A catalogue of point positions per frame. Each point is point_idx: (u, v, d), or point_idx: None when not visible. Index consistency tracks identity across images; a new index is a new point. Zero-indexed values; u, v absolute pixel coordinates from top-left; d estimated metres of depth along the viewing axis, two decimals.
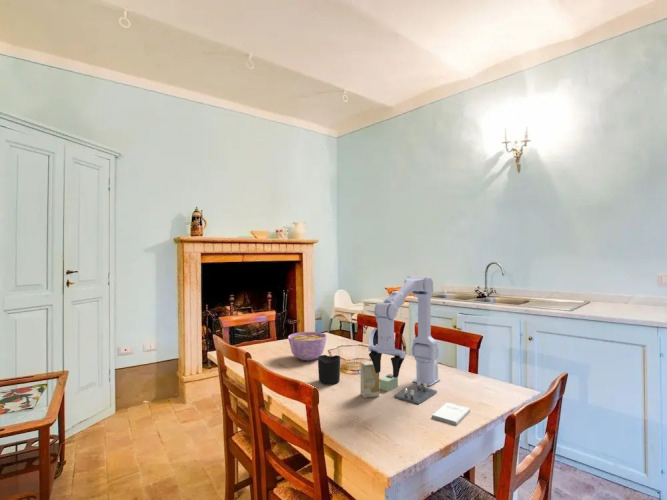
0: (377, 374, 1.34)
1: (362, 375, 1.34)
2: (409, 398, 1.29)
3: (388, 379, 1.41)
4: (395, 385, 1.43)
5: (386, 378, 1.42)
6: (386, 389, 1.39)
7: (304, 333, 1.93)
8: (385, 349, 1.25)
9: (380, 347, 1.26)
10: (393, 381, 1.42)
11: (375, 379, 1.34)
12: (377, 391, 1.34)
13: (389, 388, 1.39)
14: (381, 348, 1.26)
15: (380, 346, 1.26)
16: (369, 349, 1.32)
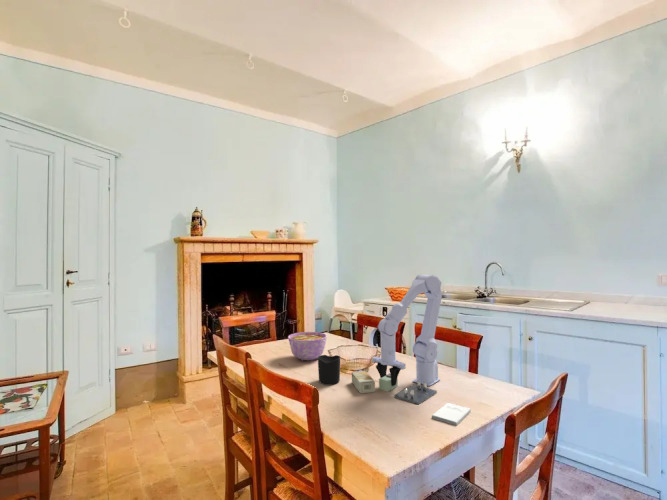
0: (366, 374, 1.46)
1: (354, 381, 1.44)
2: (409, 398, 1.29)
3: (388, 379, 1.41)
4: (395, 385, 1.42)
5: (386, 378, 1.42)
6: (386, 389, 1.39)
7: (304, 333, 1.93)
8: (387, 361, 1.40)
9: (383, 359, 1.41)
10: None
11: (366, 375, 1.44)
12: (371, 379, 1.40)
13: (389, 388, 1.39)
14: (384, 360, 1.41)
15: (383, 358, 1.41)
16: (373, 361, 1.46)
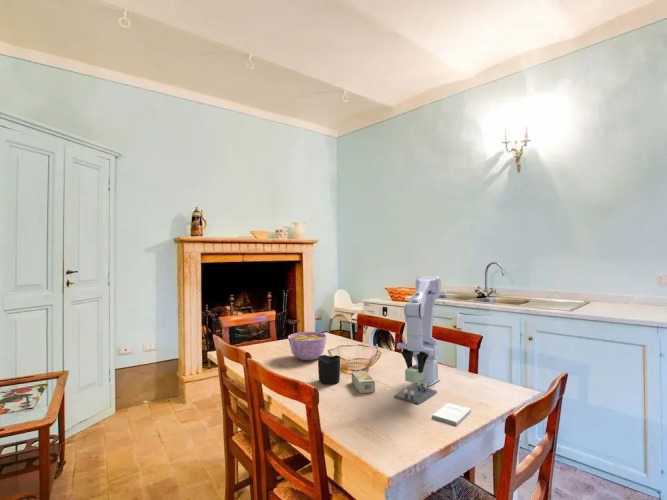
0: (366, 374, 1.46)
1: (354, 381, 1.44)
2: (409, 398, 1.29)
3: (414, 370, 1.32)
4: (422, 376, 1.34)
5: (412, 369, 1.33)
6: (413, 380, 1.31)
7: (304, 333, 1.93)
8: (414, 347, 1.32)
9: (409, 345, 1.33)
10: None
11: (366, 375, 1.44)
12: (371, 379, 1.40)
13: (416, 379, 1.31)
14: (410, 346, 1.33)
15: (409, 344, 1.33)
16: (398, 347, 1.38)
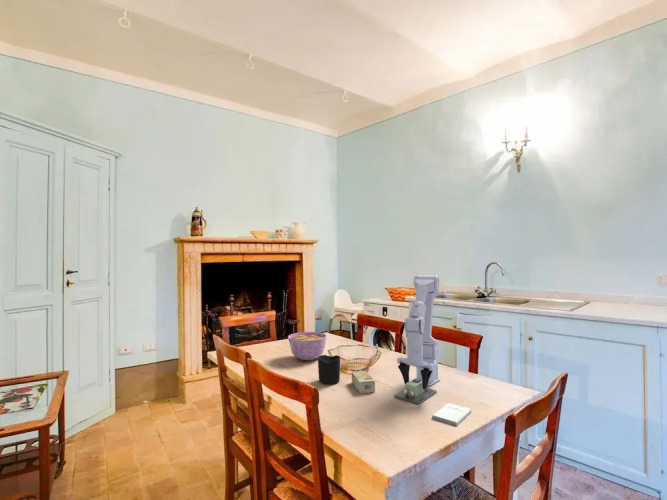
0: (366, 374, 1.46)
1: (354, 381, 1.44)
2: (409, 398, 1.29)
3: (415, 384, 1.32)
4: (422, 390, 1.34)
5: (412, 383, 1.33)
6: None
7: (304, 333, 1.93)
8: (415, 362, 1.32)
9: (410, 360, 1.33)
10: (420, 386, 1.33)
11: (366, 375, 1.44)
12: (371, 379, 1.40)
13: (416, 393, 1.31)
14: (411, 361, 1.33)
15: (410, 359, 1.33)
16: (398, 361, 1.38)
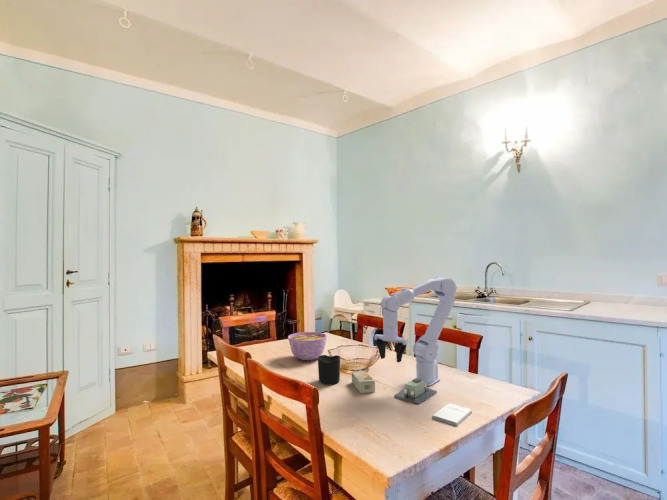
0: (366, 374, 1.46)
1: (354, 381, 1.44)
2: (409, 398, 1.29)
3: (415, 384, 1.32)
4: (422, 390, 1.34)
5: (412, 383, 1.33)
6: None
7: (304, 333, 1.93)
8: (389, 337, 1.42)
9: (385, 335, 1.43)
10: (420, 386, 1.33)
11: (366, 375, 1.44)
12: (371, 379, 1.40)
13: (416, 393, 1.31)
14: (386, 336, 1.42)
15: (385, 334, 1.43)
16: (375, 337, 1.48)
